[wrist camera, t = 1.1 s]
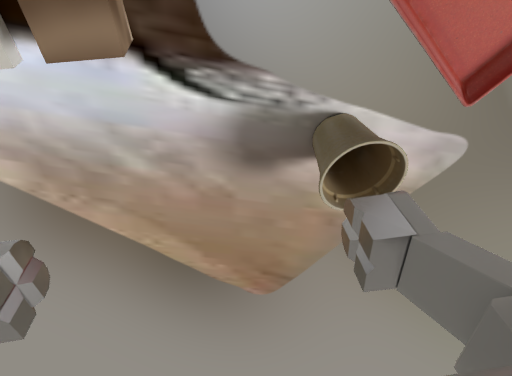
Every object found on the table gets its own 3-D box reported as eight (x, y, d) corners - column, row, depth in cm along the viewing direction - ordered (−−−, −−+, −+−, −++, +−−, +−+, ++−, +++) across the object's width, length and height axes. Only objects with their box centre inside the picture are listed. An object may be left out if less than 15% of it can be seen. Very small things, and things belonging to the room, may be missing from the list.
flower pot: (359, 166, 44) (388, 211, 37) (292, 166, 42) (310, 213, 36) (384, 102, 38) (424, 141, 31) (307, 99, 36) (333, 140, 30)
